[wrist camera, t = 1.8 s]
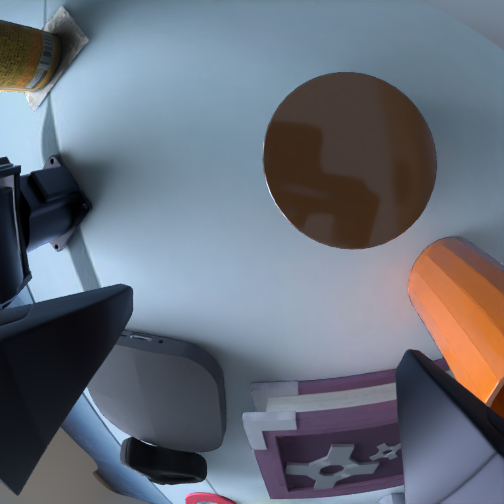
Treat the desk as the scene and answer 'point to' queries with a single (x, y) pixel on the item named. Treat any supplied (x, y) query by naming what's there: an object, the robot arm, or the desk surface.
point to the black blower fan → (163, 463)
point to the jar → (349, 160)
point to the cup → (464, 313)
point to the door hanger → (207, 498)
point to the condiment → (38, 55)
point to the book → (327, 435)
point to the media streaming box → (162, 392)
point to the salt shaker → (392, 499)
